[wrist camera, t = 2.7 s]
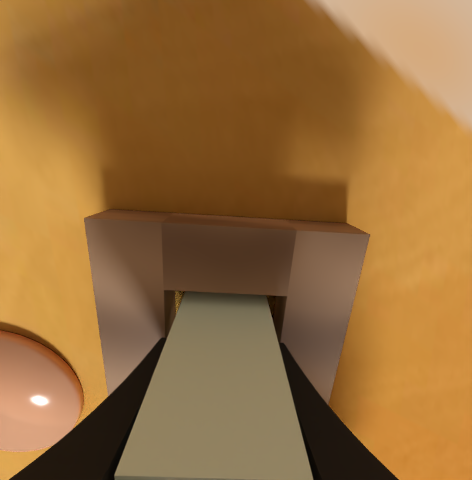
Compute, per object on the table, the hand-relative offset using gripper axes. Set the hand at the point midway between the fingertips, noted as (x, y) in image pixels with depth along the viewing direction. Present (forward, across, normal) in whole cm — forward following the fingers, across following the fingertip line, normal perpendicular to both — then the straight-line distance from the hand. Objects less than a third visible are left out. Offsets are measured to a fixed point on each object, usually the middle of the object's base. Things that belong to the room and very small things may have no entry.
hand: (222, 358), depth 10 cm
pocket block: (+3, 0, 0) cm, 3 cm away
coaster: (+3, +13, +6) cm, 15 cm away
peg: (+3, 0, 0) cm, 3 cm away
